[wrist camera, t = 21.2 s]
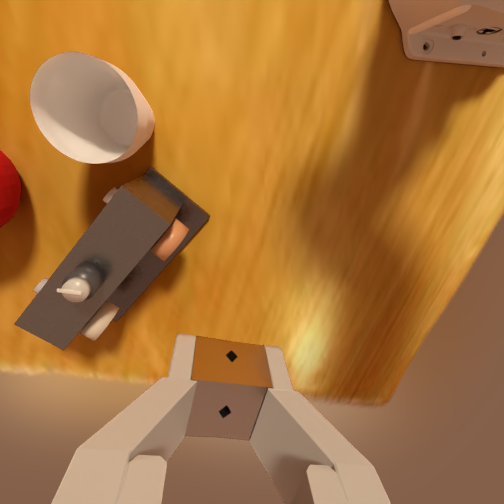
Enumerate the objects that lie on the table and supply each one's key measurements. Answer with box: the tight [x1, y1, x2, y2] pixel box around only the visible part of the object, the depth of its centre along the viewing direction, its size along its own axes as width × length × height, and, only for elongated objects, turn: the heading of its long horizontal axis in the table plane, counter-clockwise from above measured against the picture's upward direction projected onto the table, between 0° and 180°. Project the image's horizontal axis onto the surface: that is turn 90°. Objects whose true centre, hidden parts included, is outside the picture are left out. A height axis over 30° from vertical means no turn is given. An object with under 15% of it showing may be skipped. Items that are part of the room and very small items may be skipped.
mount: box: [15, 167, 210, 350], centre depth 37 cm, size 10×23×11 cm, turn 137°
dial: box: [57, 263, 104, 302], centre depth 30 cm, size 3×3×4 cm
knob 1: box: [33, 278, 119, 341], centre depth 37 cm, size 9×5×5 cm, turn 47°
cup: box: [30, 52, 154, 164], centre depth 30 cm, size 9×9×12 cm
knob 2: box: [103, 187, 189, 261], centre depth 34 cm, size 9×5×5 cm, turn 47°
